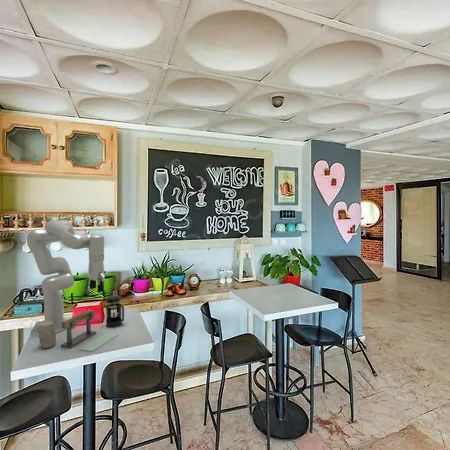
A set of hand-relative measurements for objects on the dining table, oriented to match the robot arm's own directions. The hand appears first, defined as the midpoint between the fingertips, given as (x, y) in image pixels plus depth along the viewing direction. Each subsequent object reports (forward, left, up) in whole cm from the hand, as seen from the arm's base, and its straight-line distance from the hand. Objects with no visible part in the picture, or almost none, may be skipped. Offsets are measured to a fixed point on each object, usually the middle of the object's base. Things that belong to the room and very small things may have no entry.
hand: (96, 290), depth 158 cm
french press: (-4, +20, -27) cm, 33 cm away
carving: (-19, -14, -27) cm, 36 cm away
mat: (+4, -4, -27) cm, 27 cm away
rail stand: (-9, -4, -27) cm, 28 cm away
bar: (-9, -4, -17) cm, 19 cm away
